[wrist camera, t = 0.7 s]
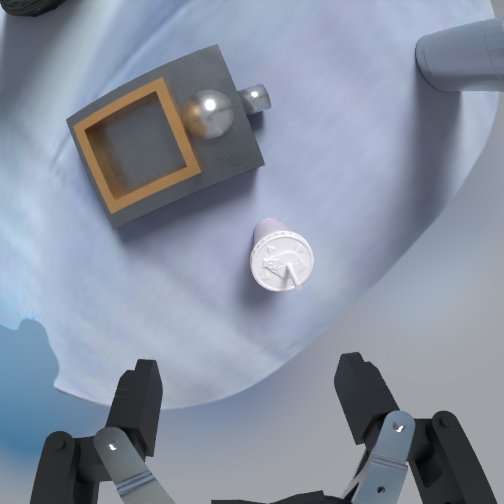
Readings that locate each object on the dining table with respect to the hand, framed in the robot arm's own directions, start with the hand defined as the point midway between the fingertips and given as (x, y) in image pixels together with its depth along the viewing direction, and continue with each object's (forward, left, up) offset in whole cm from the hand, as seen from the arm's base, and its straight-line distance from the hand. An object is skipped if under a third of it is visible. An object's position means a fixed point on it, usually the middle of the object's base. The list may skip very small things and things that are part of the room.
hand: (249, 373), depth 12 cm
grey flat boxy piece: (+2, -11, -27) cm, 29 cm away
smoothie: (-3, +5, -27) cm, 27 cm away
